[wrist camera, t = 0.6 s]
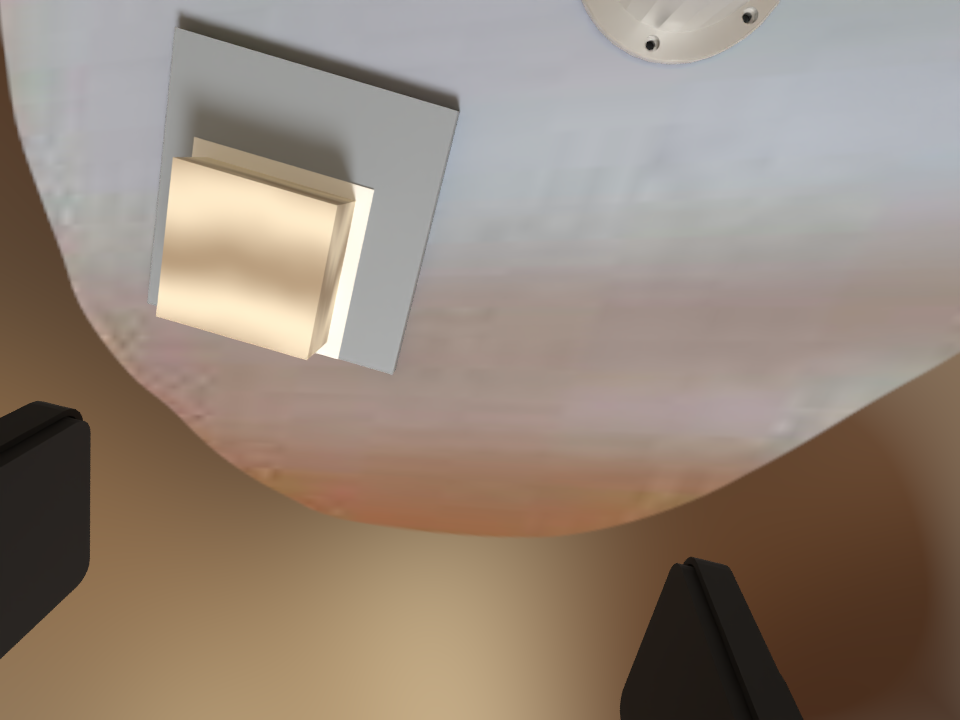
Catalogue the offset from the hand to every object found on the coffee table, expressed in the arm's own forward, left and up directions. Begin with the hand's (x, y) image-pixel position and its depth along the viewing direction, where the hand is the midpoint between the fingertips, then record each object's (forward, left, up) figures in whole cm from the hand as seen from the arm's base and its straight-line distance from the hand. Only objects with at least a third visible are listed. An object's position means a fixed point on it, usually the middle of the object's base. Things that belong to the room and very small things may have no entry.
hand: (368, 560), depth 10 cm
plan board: (+1, -14, -33) cm, 36 cm away
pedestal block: (+4, -15, -32) cm, 36 cm away
